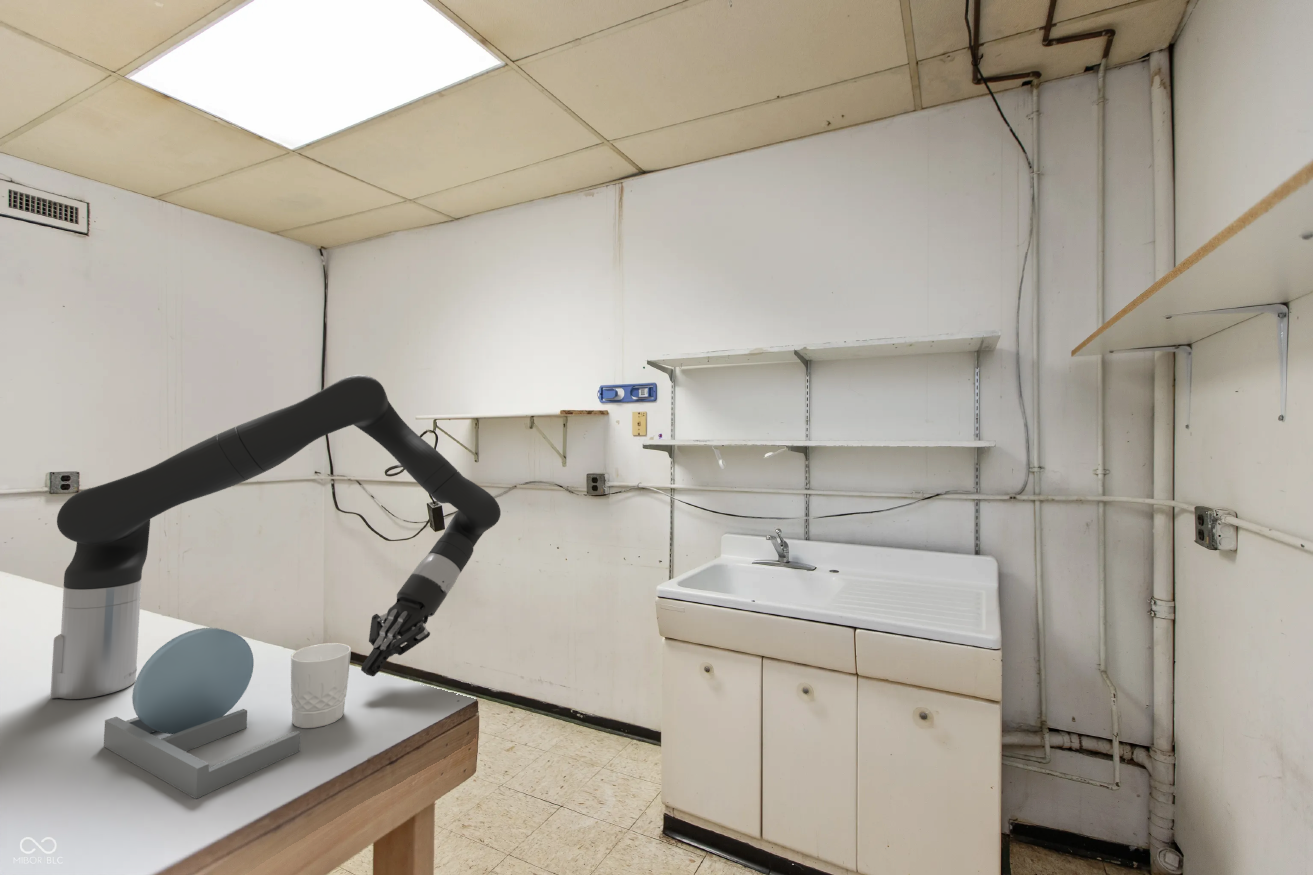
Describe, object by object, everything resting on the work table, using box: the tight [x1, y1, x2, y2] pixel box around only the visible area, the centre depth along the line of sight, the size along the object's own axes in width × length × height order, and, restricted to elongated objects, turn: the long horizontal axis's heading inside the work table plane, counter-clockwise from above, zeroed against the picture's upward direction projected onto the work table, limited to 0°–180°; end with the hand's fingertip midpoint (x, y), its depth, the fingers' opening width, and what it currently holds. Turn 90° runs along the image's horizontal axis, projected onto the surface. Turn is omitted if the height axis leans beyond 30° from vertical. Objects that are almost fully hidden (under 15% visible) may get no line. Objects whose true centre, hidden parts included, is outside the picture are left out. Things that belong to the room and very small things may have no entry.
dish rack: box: [103, 627, 302, 799], centre depth 78 cm, size 15×23×14 cm, turn 64°
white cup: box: [290, 642, 352, 729], centre depth 86 cm, size 8×8×10 cm
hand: (367, 673), depth 94 cm, fingers closed
